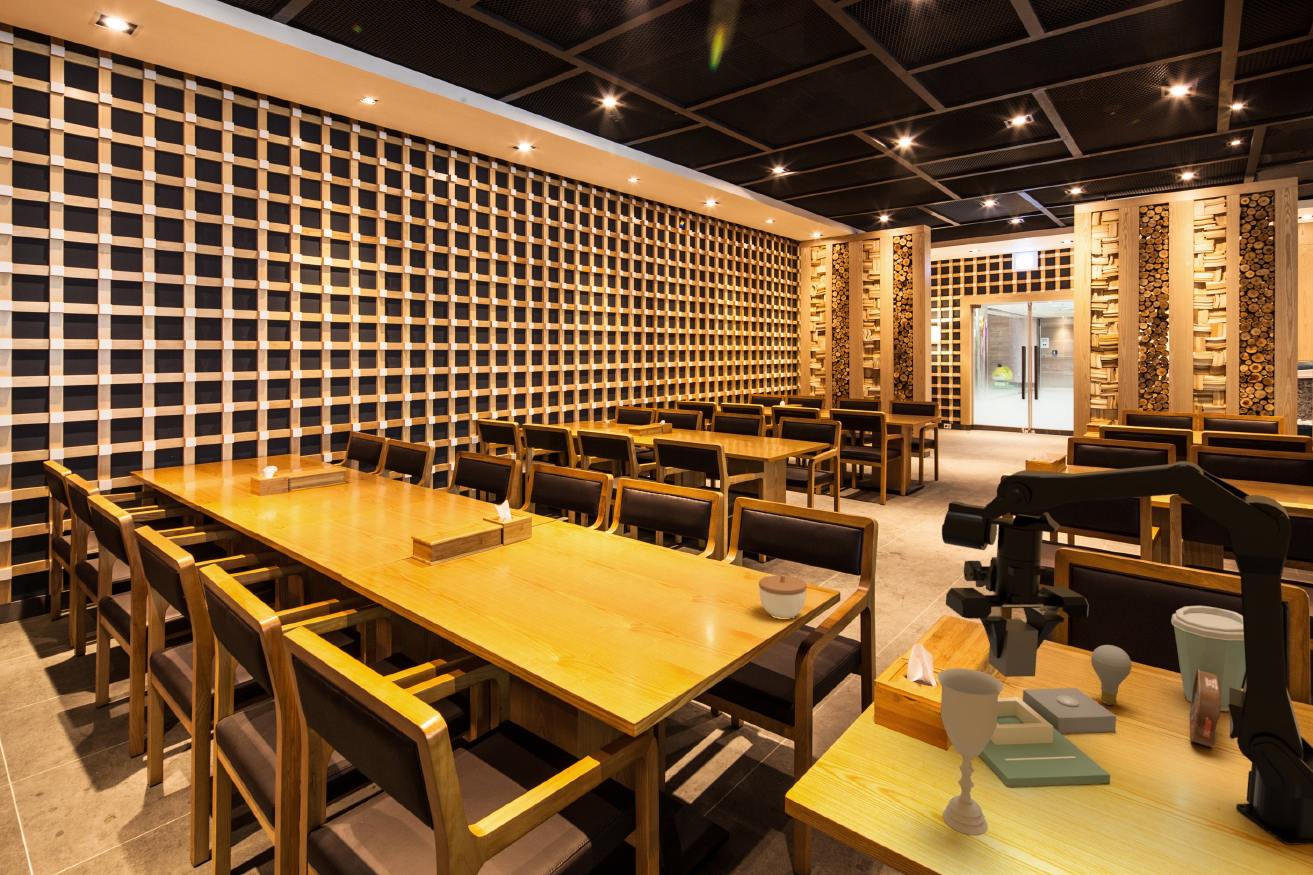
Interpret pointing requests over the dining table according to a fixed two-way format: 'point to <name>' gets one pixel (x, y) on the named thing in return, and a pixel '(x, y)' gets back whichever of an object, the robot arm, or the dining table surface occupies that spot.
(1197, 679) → the tin
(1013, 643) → the plug
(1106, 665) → the light bulb
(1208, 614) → the disposable coffee cup
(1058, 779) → the board
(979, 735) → the chalice
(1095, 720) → the grey domed button plate
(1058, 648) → the dining table surface
